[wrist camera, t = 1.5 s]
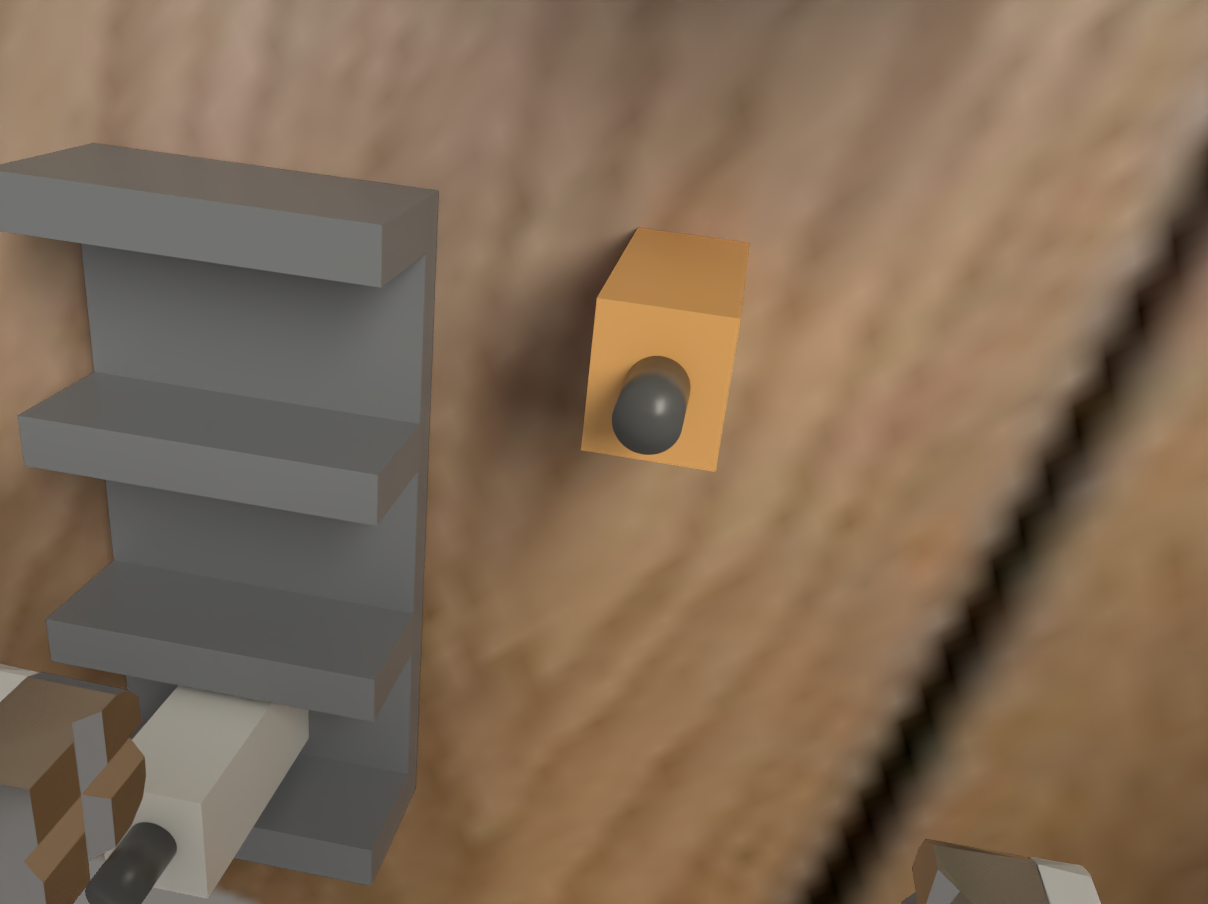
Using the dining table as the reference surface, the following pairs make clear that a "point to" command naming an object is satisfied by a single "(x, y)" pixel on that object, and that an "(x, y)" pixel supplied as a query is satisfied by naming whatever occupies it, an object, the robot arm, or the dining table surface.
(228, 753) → the white plug
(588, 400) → the orange plug
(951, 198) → the dining table surface
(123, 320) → the rack
